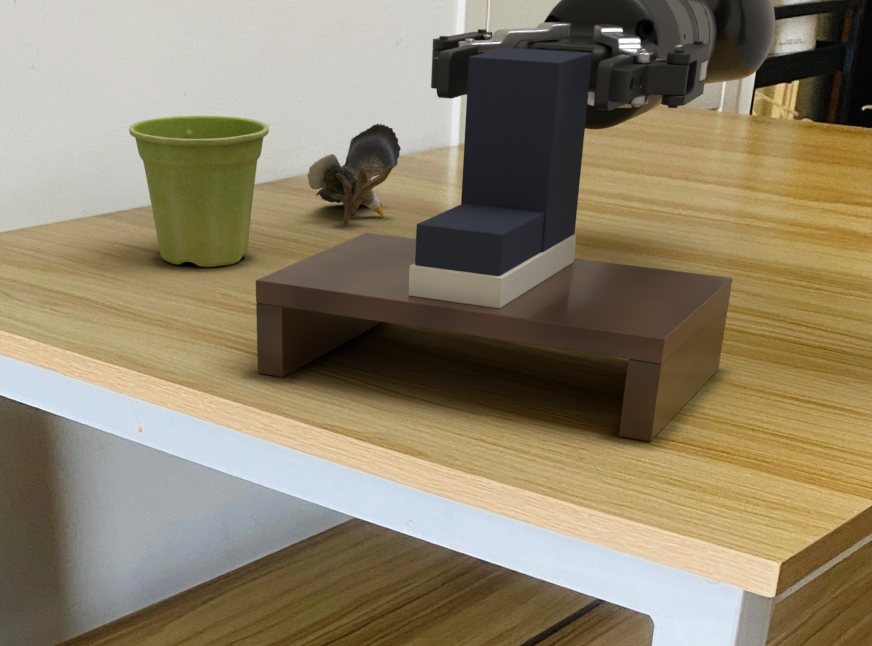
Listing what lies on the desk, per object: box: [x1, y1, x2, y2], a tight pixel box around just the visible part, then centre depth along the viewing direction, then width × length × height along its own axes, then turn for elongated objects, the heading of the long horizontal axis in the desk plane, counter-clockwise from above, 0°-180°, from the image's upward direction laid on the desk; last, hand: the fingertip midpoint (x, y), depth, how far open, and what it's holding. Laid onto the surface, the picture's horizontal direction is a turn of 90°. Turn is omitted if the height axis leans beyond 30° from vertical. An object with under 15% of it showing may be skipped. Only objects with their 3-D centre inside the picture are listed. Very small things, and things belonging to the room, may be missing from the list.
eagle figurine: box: [307, 123, 402, 227], centre depth 108 cm, size 8×7×9 cm
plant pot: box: [128, 115, 270, 268], centre depth 95 cm, size 9×9×9 cm
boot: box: [409, 48, 592, 308], centre depth 70 cm, size 11×5×10 cm, turn 152°
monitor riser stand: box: [255, 232, 733, 442], centre depth 74 cm, size 22×13×5 cm, turn 62°
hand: (521, 81), depth 69 cm, fingers open, 8 cm apart
